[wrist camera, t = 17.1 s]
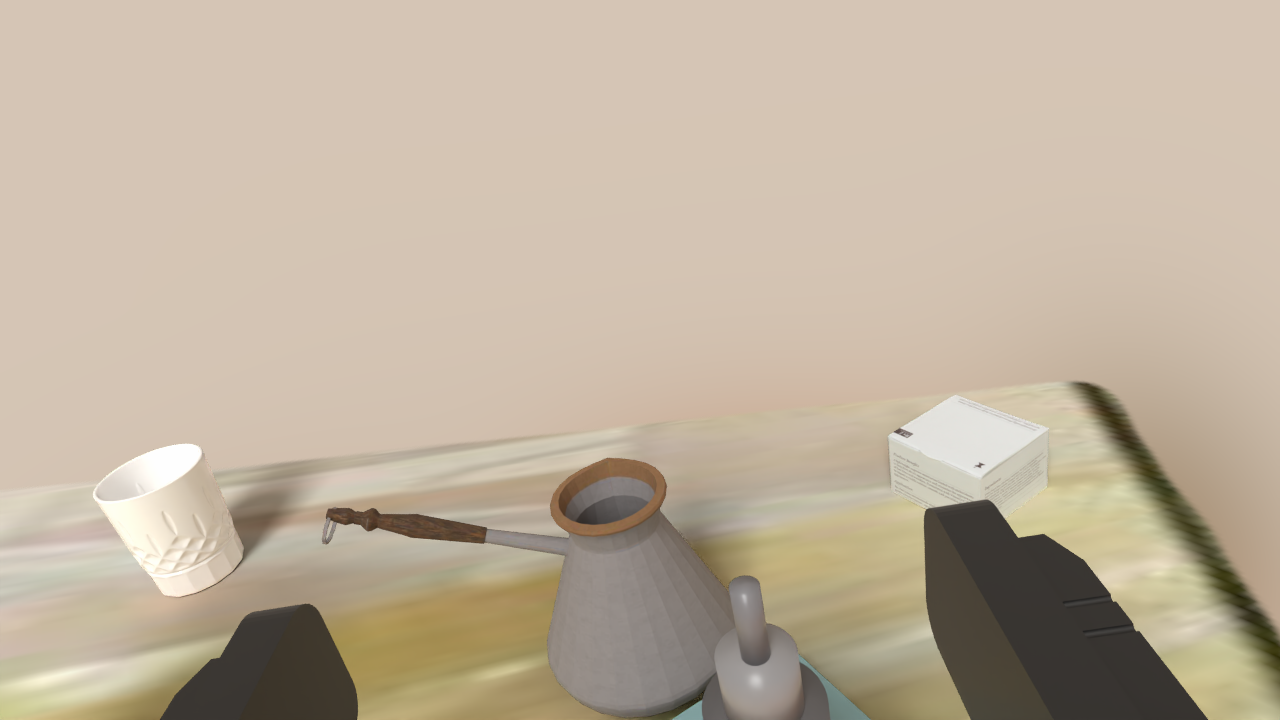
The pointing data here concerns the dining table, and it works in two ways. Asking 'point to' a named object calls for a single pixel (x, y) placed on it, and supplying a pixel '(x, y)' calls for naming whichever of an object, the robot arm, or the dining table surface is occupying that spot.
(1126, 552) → the dining table surface
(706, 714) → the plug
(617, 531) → the coffee pot
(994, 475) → the small box
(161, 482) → the white cup
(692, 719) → the socket plate
